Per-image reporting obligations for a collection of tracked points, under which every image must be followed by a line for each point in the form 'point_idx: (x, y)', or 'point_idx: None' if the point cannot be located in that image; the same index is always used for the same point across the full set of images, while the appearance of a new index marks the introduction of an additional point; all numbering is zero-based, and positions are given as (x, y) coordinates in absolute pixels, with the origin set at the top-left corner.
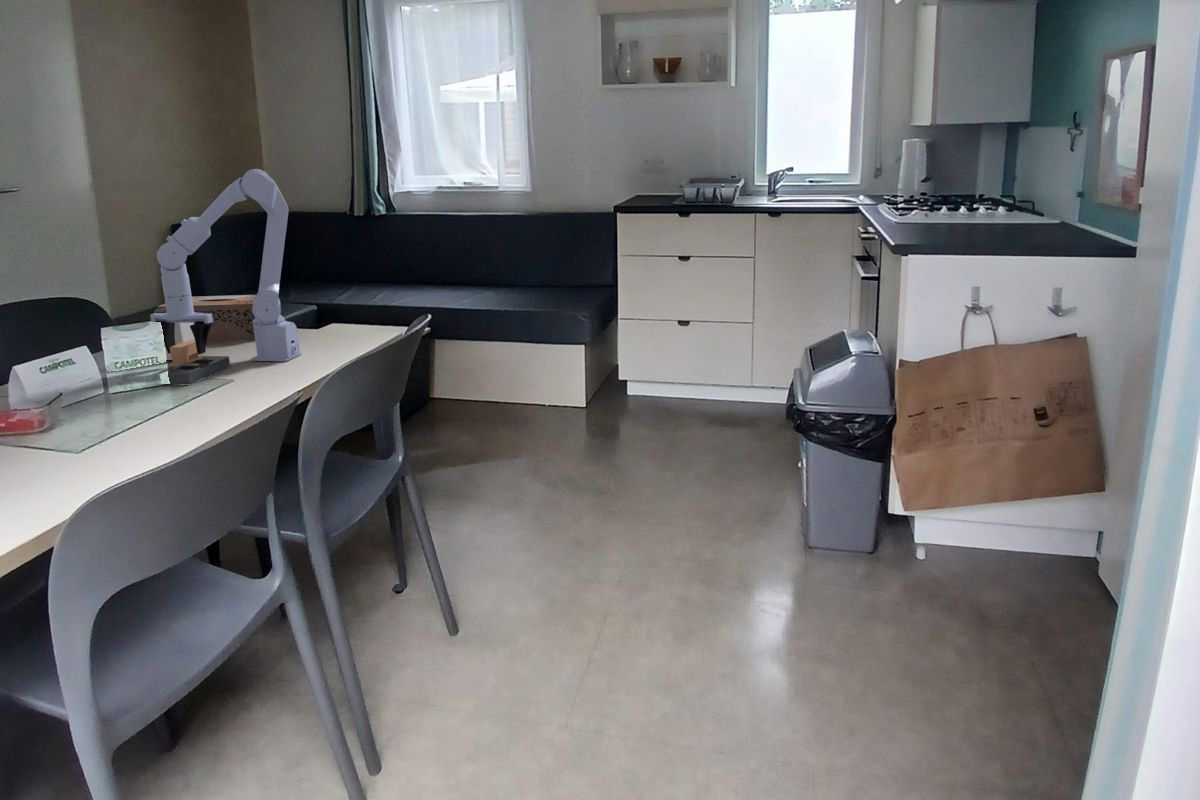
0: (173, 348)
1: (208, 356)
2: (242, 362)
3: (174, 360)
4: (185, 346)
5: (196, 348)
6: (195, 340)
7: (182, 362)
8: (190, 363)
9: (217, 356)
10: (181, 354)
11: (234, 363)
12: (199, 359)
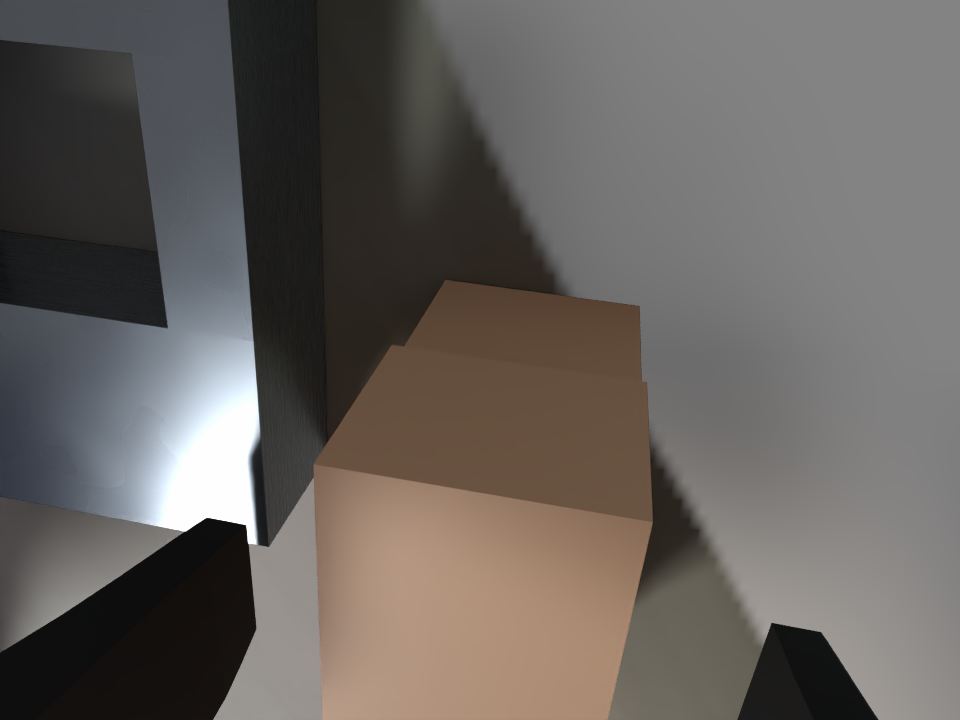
0: (541, 485)
1: (142, 505)
2: (6, 559)
3: (601, 372)
4: (323, 583)
5: (189, 579)
6: (48, 695)
7: (455, 335)
8: (81, 33)
9: (11, 485)
10: (393, 381)
11: (57, 534)
12: (142, 338)
